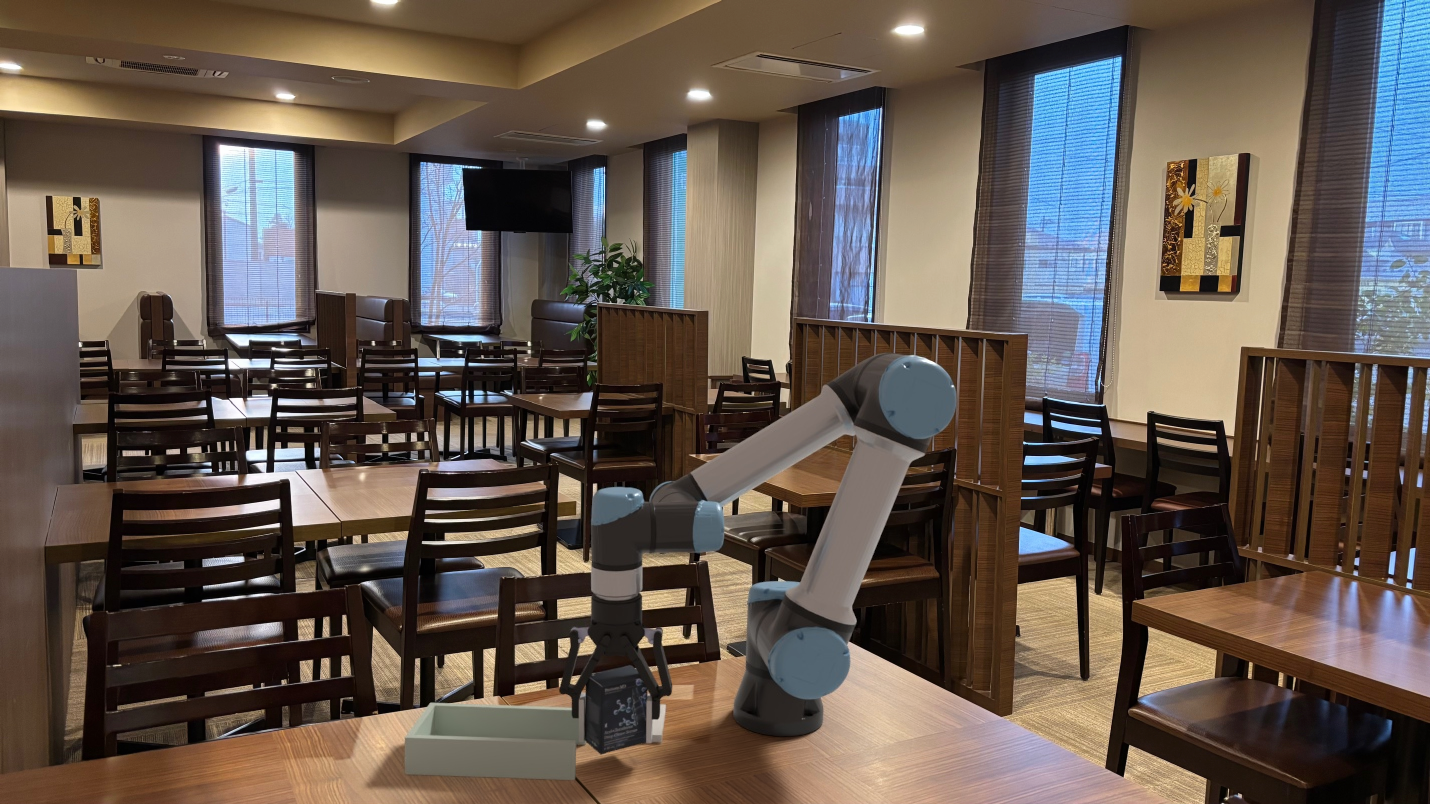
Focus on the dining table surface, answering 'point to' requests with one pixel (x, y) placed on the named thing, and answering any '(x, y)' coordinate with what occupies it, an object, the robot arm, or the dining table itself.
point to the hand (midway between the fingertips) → (616, 738)
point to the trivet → (659, 725)
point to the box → (615, 709)
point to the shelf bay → (493, 742)
